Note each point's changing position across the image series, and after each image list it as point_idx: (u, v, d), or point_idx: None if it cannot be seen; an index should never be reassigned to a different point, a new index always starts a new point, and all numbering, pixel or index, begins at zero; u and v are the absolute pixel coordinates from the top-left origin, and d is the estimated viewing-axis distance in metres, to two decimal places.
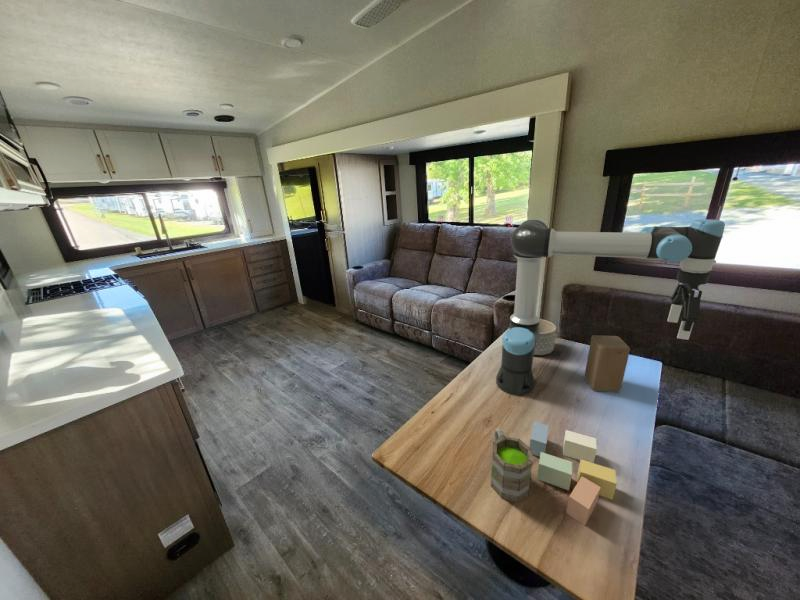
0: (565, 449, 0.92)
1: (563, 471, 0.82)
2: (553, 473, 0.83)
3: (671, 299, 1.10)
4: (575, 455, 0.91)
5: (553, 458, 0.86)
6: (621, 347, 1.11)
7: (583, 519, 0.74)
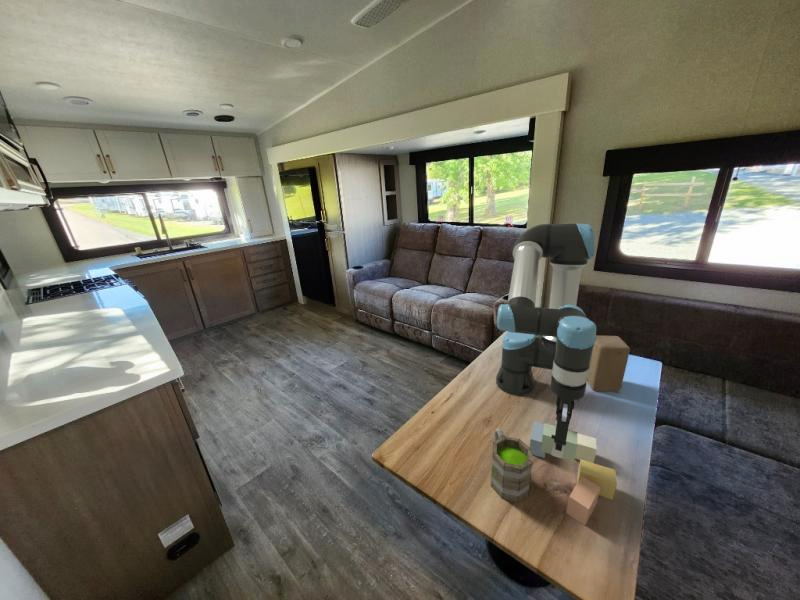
0: None
1: (568, 441, 0.78)
2: None
3: None
4: (575, 455, 0.91)
5: None
6: (621, 347, 1.11)
7: (583, 519, 0.74)
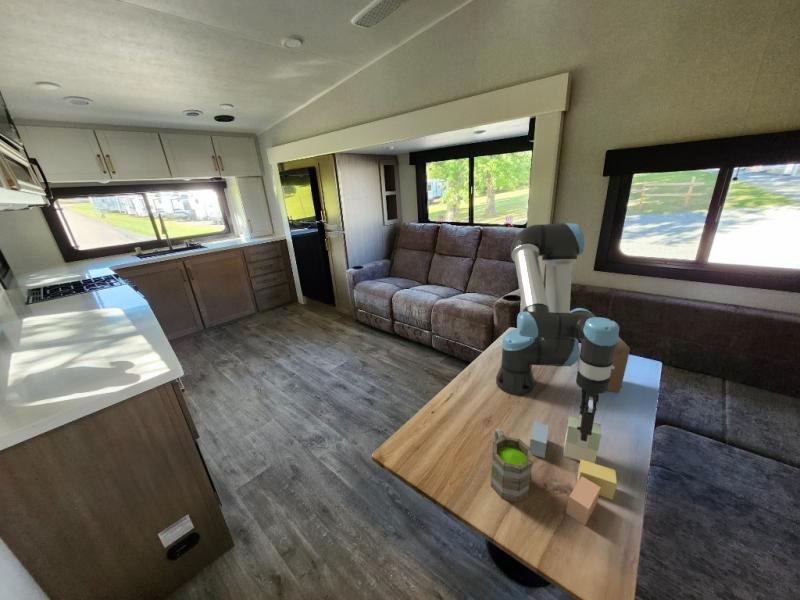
0: (566, 450, 0.92)
1: (592, 432, 0.86)
2: None
3: (580, 408, 0.93)
4: (576, 456, 0.91)
5: None
6: (621, 347, 1.11)
7: (584, 519, 0.74)
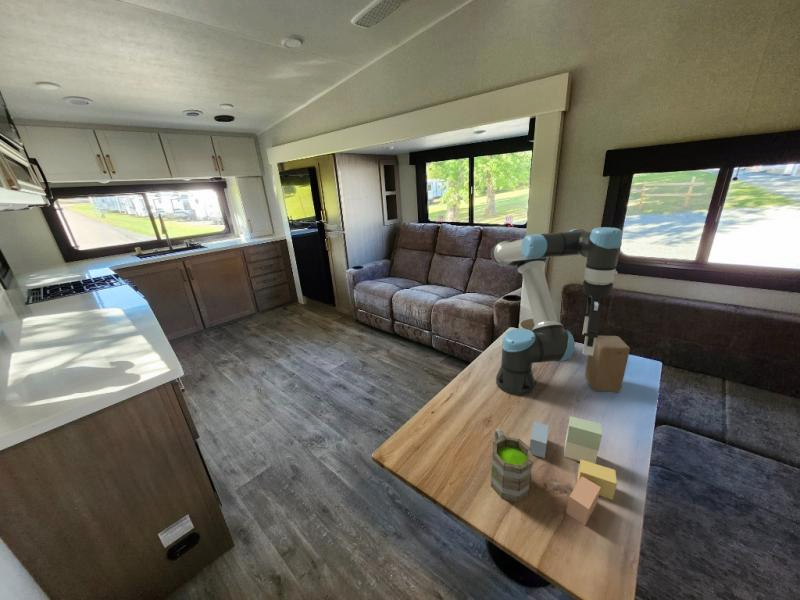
0: (566, 450, 0.92)
1: (593, 432, 0.86)
2: (583, 434, 0.87)
3: (586, 311, 1.03)
4: (576, 456, 0.91)
5: (583, 421, 0.90)
6: (621, 347, 1.11)
7: (583, 519, 0.74)
